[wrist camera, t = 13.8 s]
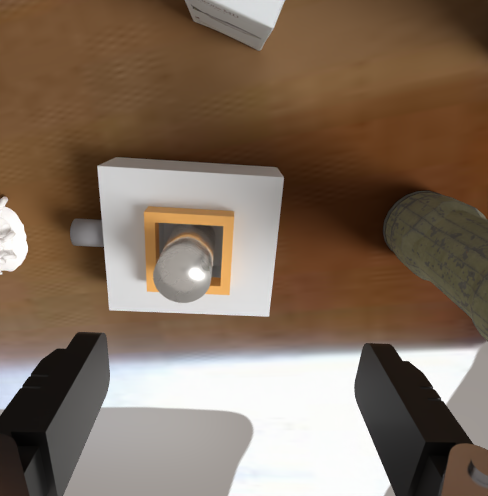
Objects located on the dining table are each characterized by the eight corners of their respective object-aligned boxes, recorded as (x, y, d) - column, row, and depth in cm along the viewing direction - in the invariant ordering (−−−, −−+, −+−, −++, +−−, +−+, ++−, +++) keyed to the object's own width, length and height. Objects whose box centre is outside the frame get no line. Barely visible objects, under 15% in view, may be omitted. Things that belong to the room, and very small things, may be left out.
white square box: (276, 167, 41) (286, 181, 33) (264, 291, 47) (270, 326, 39) (79, 154, 40) (44, 166, 32) (92, 283, 46) (65, 318, 38)
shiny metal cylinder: (216, 217, 40) (211, 252, 30) (215, 258, 42) (210, 303, 32) (170, 215, 40) (151, 250, 30) (171, 257, 41) (154, 302, 32)
